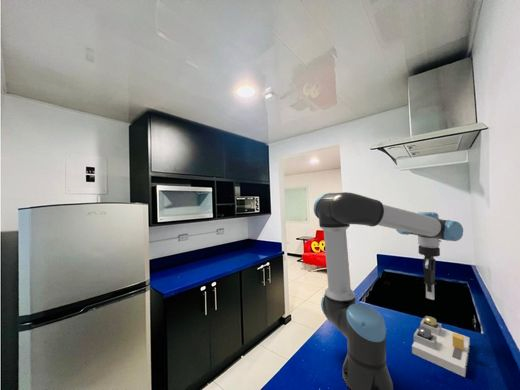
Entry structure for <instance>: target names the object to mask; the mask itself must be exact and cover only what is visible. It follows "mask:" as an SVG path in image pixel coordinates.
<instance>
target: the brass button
mask: <svg viewBox="0 0 520 390" xmlns="http://www.w3.org/2000/svg"><path fill="white" fill-rule="evenodd" d="M424 318H425V324H426V325H429V326H431V327H434V328H436V327H437V323H438V322H437V319H436V318H435V317H432V316H429V315H425V316H424Z"/></svg>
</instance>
